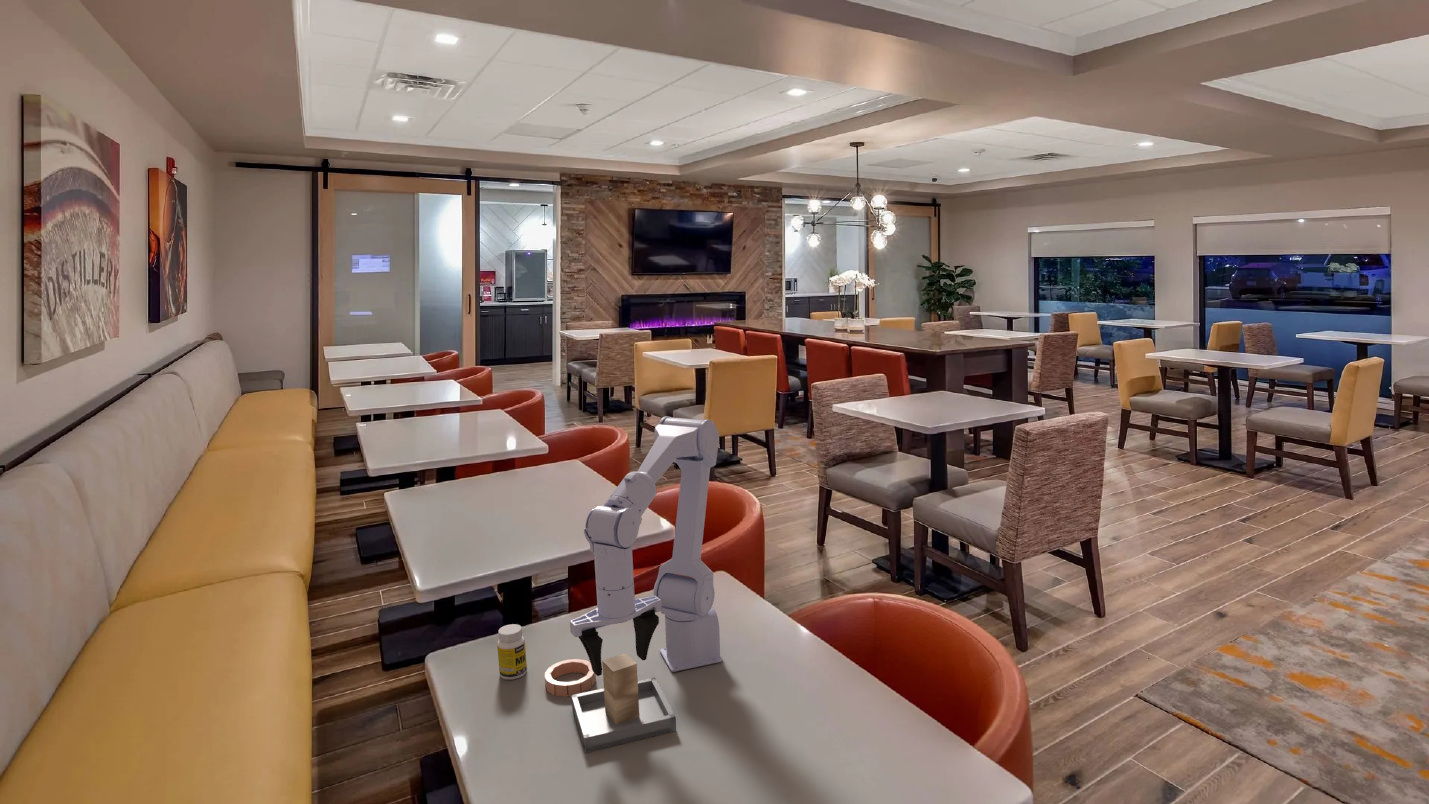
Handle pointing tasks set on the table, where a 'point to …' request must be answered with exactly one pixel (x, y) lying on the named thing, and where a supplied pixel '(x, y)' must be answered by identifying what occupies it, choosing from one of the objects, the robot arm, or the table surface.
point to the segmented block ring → (573, 686)
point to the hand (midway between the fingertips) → (619, 664)
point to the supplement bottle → (511, 652)
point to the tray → (606, 733)
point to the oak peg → (620, 688)
